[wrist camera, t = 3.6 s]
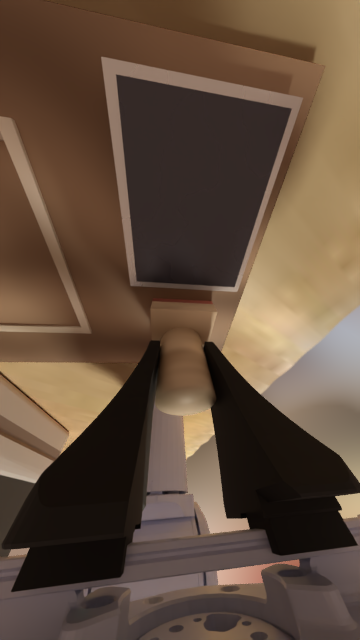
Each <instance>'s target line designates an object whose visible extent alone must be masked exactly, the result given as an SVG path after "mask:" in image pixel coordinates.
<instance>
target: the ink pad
mask: <svg viewBox="0 0 360 640" xmlns="http://www.w3.org/2000/svg"><path fill="white" fill-rule="evenodd" d="M101 60H102V68H103V76H104V83H105V91H106V99H107V107H108V115H109V122H110V130H111V138H112V146H113V154H114V161H115V169H116V177H117V185H118V192H119V200H120V208H121V216H122V224H123V231H124V239H125V247H126V255H127V263H128V270H129V278H130V286H142V287H159V288H177V289H194V290H212V291H229V292H237V291H238V289H239V286H240V283H241V280H242V277H243V274H244V271H245V268H246V265H247V262H248V259H249V256H250V253H251V250H252V247H253V244H254V241H255V238H256V236H257V233H258V230H259V227H260V224H261V221H262V218H263V215H264V212H265V209H266V206H267V203H268V200H269V197H270V194H271V191H272V188H273V185H274V183H275V180H276V177H277V174H278V171H279V168H280V165H281V162H282V159H283V156H284V153H285V150H286V147H287V144H288V141H289V138H290V135H291V133H292V130H293V127H294V124H295V121H296V118H297V115H298V112H299V109H300V106H301V103H302V100H303V98H302V97H297V96H292V95H287V94H282V93H277V92H272V91H267V90H262V89H258V88H253V87H248V86H243V85H238V84H233V83H228V82H223V81H218V80H214V79H209V78H204V77H199V76H194V75H189V74H184V73H179V72H175V71H170V70H165V69H160V68H155V67H150V66H145V65H140V64H135V63H131V62H126V61H121V60H116V59H111V58H106V57H101Z"/></svg>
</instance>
